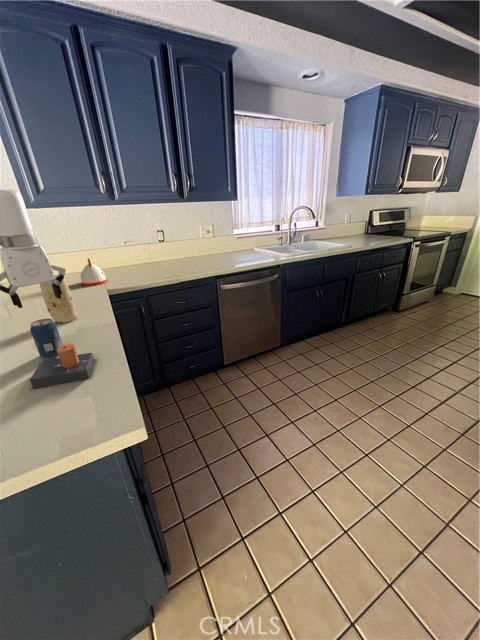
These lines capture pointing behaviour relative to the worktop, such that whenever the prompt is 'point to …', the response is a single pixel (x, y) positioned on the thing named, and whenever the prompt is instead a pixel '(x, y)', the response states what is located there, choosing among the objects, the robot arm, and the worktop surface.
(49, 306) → the food model
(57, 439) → the worktop surface
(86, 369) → the cooker panel
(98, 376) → the worktop surface
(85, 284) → the kitchen timer
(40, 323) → the soda can
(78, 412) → the worktop surface
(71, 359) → the knob
